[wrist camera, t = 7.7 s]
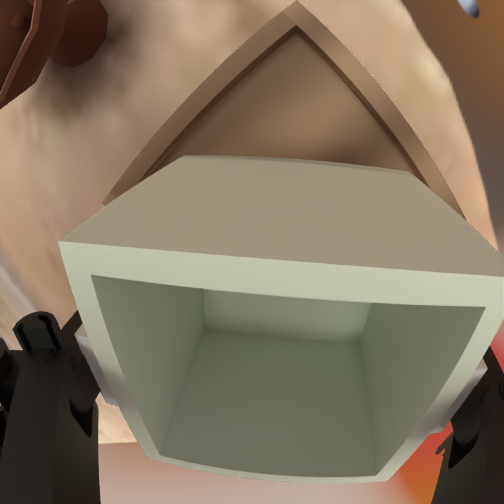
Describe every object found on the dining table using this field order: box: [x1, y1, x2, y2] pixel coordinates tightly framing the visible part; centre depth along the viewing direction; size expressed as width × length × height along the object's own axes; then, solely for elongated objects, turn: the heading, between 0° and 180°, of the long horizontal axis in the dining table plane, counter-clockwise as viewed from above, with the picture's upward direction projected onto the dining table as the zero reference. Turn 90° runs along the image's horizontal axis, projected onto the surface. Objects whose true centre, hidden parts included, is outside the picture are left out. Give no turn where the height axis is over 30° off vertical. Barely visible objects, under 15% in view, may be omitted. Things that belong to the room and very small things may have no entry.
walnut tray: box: [103, 0, 467, 221], centre depth 18 cm, size 16×16×3 cm
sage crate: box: [58, 155, 504, 483], centre depth 9 cm, size 8×8×7 cm
